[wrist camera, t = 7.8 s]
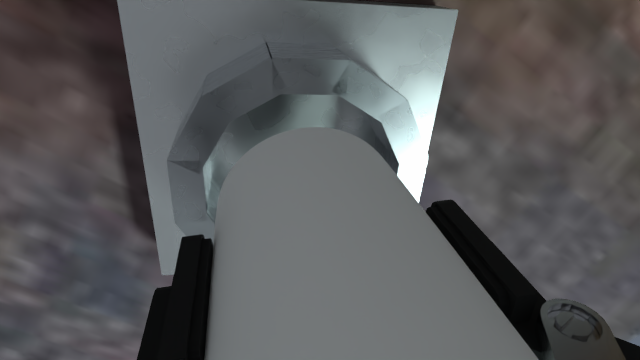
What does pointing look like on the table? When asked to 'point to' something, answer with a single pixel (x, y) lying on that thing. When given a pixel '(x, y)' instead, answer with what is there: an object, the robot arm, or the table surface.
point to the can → (340, 263)
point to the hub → (274, 89)
